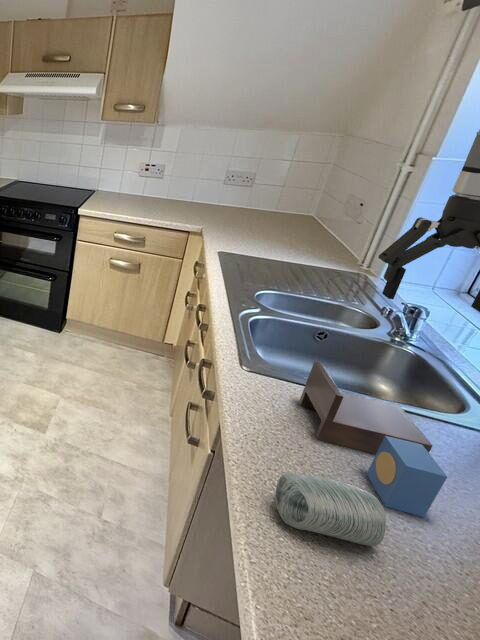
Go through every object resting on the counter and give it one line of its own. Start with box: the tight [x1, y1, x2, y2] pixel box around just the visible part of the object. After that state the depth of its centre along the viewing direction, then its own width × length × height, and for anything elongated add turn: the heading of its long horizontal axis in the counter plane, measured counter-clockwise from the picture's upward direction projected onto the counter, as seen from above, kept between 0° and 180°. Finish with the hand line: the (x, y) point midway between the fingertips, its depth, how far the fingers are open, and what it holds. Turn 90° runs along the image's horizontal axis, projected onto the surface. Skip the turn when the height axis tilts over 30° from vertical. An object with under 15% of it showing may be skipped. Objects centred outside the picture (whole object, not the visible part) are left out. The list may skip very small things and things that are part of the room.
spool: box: [275, 472, 387, 547], centre depth 64 cm, size 14×10×10 cm
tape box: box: [366, 436, 448, 518], centre depth 70 cm, size 5×7×9 cm
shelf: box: [298, 361, 433, 455], centre depth 83 cm, size 16×12×11 cm
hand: (431, 303), depth 81 cm, fingers open, 13 cm apart
